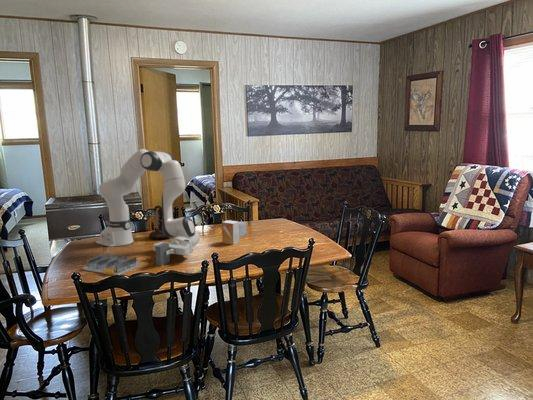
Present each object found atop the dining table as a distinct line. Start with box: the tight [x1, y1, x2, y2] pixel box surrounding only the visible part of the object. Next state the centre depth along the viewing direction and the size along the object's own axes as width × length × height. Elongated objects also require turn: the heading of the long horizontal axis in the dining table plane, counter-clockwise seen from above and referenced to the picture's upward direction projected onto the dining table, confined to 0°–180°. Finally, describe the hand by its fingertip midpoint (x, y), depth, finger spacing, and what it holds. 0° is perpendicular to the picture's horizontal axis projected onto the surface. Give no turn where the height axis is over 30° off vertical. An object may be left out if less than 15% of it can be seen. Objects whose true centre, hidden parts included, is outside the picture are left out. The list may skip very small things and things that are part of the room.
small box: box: [221, 219, 240, 246], centre depth 236 cm, size 8×6×13 cm
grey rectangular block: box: [154, 243, 171, 267], centre depth 200 cm, size 3×7×10 cm, turn 157°
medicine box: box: [238, 220, 247, 238], centre depth 252 cm, size 8×4×9 cm, turn 141°
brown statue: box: [148, 205, 167, 241], centre depth 249 cm, size 15×15×20 cm
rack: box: [82, 252, 142, 276], centre depth 196 cm, size 22×17×4 cm
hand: (162, 252), depth 200 cm, fingers closed on grey rectangular block, 3 cm apart
